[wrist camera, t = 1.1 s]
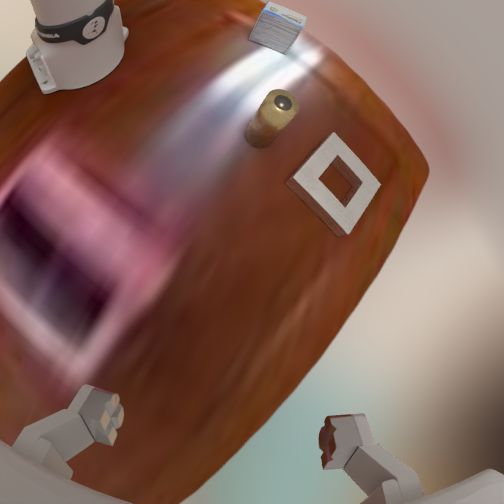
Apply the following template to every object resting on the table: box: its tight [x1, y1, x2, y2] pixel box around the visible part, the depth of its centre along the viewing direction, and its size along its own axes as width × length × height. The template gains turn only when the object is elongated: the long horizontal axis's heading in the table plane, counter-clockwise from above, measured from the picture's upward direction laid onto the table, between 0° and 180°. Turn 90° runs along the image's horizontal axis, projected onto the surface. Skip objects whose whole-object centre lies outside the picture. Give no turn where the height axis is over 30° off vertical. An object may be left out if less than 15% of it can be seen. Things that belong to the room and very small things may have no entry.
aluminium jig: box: [285, 132, 381, 237], centre depth 43 cm, size 12×12×3 cm
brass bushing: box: [245, 89, 299, 148], centre depth 37 cm, size 4×4×10 cm
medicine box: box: [248, 1, 307, 54], centre depth 40 cm, size 8×4×9 cm, turn 73°
